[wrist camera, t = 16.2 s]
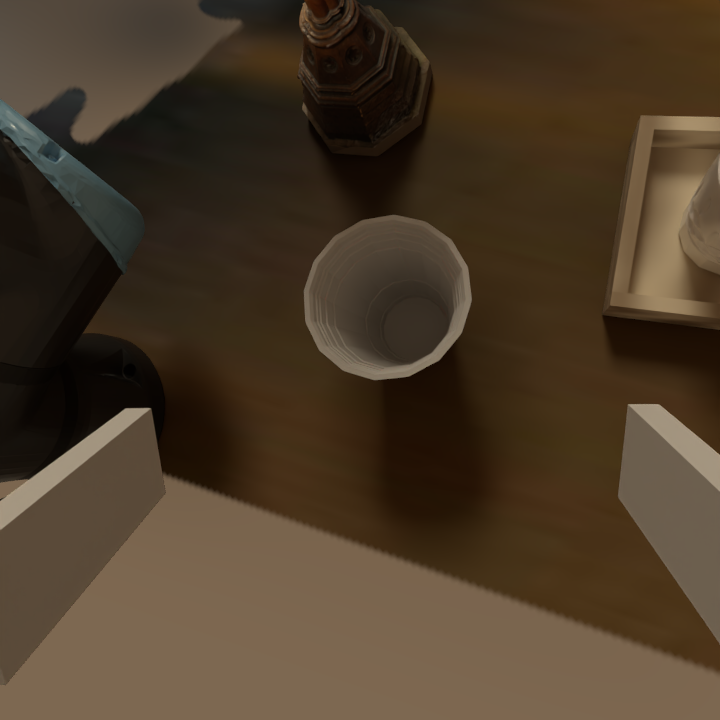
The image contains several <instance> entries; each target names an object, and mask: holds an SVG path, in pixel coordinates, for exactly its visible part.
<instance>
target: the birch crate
mask: <svg viewBox="0 0 720 720" xmlns="http://www.w3.org/2000/svg"><path fill="white" fill-rule="evenodd" d="M719 152H720V117H682V116H640V119H639V121H638V124H637V126H636V129H635V131H634V134H633V136H632V139H631V143H630V149H629V155H628V161H627V167H626V173H625V179H624V185H623V191H622V197H621V203H620V210H619V216H618V222H617V228H616V234H615V240H614V246H613V252H612V258H611V264H610V270H609V277H608V283H607V289H606V295H605V301H604V307H603V313H602V315H606V316H614V317H622V318H630V319H638V320H646V321H654V322H662V323H669V324H677V325H685V326H693V327H701V328H709V329H717V330H720V275H718V274H716V273H713V272H710V271H708V270H705V269H703V268H700V267H698V266H697V265H696V264H695V263H694V262H693V261H692V259H691V258H690V257H689V256H688V255H687V254H686V253H685V252H684V250H683V247H682V243H681V239H680V236H679V228H680V224H681V220H682V216H683V213H684V211H685V209H686V208H687V206H688V205H689V203H690V201H691V199H692V197H693V195H694V193H695V191H696V189H697V188H698V186H699V184H700V182H701V180H702V179H703V177H704V175H705V174H706V172H707V171H708V169H709V167H710V166H711V164H712V163H713V161H714V160H715V158H716V157H717V155H718V154H719Z"/></svg>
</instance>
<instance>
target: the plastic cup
mask: <svg viewBox="0 0 720 720" xmlns="http://www.w3.org/2000/svg"><path fill="white" fill-rule="evenodd" d="M471 301H472V298H471V290H470V281H469V272H468V267H467V265H466V263H465V262H464V260H463V258H462V257H461V255H460V253H459V252H458V250H457V248H456V247H455V245H454V243H453V242H452V240H451V239H450V238H448V237H447V236H445V235H444V234H442V233H441V232H440V231H438V230H437V229H435V228H434V227H432V226H431V225H430V224H428V223H427V222H425V221H421V220H416V219H411V218H407V217H402V216H397V215H390V216H384V217H378V218H372V219H366V220H362V221H360V222H358V223H356V224H355V225H353V226H351V227H350V228H348V229H346V230H344V231H343V232H341V233H339V234H338V235H336V236H334V237H333V239H332V240H331V241H330V242H329V243H328V245H327V246H326V247H325V248H324V250H323V251H322V252H321V253H320V254H319V256H318V257H317V258H316V259H315V261H314V262H313V265H312V268H311V271H310V274H309V277H308V280H307V283H306V286H305V289H304V303H305V321H306V324H307V326H308V328H309V330H310V332H311V334H312V337H313V339H314V341H315V343H316V345H317V347H318V349H319V350H320V351H321V352H322V353H323V354H324V355H325V356H327V357H328V358H329V359H330V360H331V361H332V362H334V363H335V364H336V365H337V366H338V367H339V368H341V369H342V370H343V371H346V372H349V373H352V374H356V375H359V376H362V377H366V378H369V379H372V380H382V379H392V378H401V377H409V376H411V375H413V374H415V373H416V372H418V371H420V370H422V369H424V368H426V367H428V366H430V365H431V364H433V363H435V362H437V361H439V360H440V359H441V358H442V356H443V355H444V354H445V353H446V352H447V350H448V349H449V348H450V347H451V346H452V344H453V343H454V342H455V341H456V340H457V338H458V337H459V336H460V335H461V334H462V331H463V328H464V324H465V321H466V318H467V314H468V311H469V308H470V305H471Z"/></svg>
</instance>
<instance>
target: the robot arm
mask: <svg viewBox="0 0 720 720" xmlns="http://www.w3.org/2000/svg"><path fill="white" fill-rule="evenodd" d="M144 231H145V227H144V220H143V217H142V215H141V213H140V212H139V210H138V209H137V208H136V207H135V206H134V205H133V204H131V203H130V202H129V201H128V200H126V199H125V198H124V197H123V196H122V195H120V194H119V193H118V192H117V191H115V190H114V189H113V188H112V187H110V186H109V185H108V184H107V183H105V182H104V181H103V180H102V179H100V178H99V177H98V176H97V175H95V174H94V173H93V172H91V171H90V170H89V169H88V168H87V167H85V166H84V165H83V164H81V163H80V162H79V161H78V160H76V159H75V158H74V157H73V156H71V155H70V154H69V153H67V152H66V151H65V150H64V149H62V148H61V147H60V146H59V145H58V144H56V143H55V142H54V141H53V140H51V139H50V138H49V137H48V136H46V135H45V134H44V133H43V132H41V131H40V130H39V129H38V128H37V127H35V126H34V125H33V124H32V123H30V122H29V121H28V120H27V119H25V118H24V117H23V116H22V115H20V114H19V113H18V112H17V111H15V110H14V109H13V108H11V107H10V106H9V105H8V104H6V103H5V102H4V101H3V100H1V99H0V482H7V481H14V480H23V479H28V481H27V482H26V483H24V484H23V485H21V486H20V487H19V488H17V489H16V490H15V491H13V492H12V493H10V494H9V495H8V496H6V497H4V498H2V499H0V685H6V684H7V683H8V682H9V681H10V679H11V678H12V677H13V676H14V675H15V673H16V672H17V671H18V670H19V668H20V667H21V666H22V665H23V664H24V663H25V661H26V660H27V659H28V658H29V657H30V655H31V654H32V653H33V652H34V650H35V649H36V648H37V647H38V646H39V644H40V643H41V642H42V641H43V640H44V638H45V637H46V636H47V635H48V634H49V632H50V631H51V630H52V629H53V628H54V626H55V625H56V624H57V623H58V621H59V620H60V619H61V618H62V617H63V616H64V614H65V613H66V612H67V611H68V610H69V608H70V607H71V606H72V605H73V604H74V602H75V601H76V600H77V599H78V597H79V596H80V595H81V594H82V593H83V592H84V590H85V589H86V588H87V587H88V586H89V584H90V583H91V582H92V581H93V579H94V578H95V577H96V576H97V575H98V573H99V572H100V571H101V570H102V569H103V568H104V566H105V565H106V564H107V563H108V561H109V560H110V559H111V558H112V557H113V556H114V554H115V553H116V552H117V551H118V550H119V548H120V547H121V546H122V545H123V544H124V542H125V541H126V540H127V539H128V537H129V536H130V535H131V534H132V533H133V531H134V530H135V529H136V528H137V527H138V525H139V524H140V523H141V522H142V521H143V519H144V518H145V517H146V516H147V515H148V513H149V512H150V511H151V510H152V509H153V507H154V506H155V505H156V504H157V503H158V501H159V500H160V499H161V498H162V496H163V495H164V494H165V486H164V481H163V474H162V469H161V463H160V457H159V451H158V445H157V442H158V439H159V436H160V433H161V429H162V425H163V418H164V395H163V389H162V385H161V381H160V378H159V376H158V373H157V371H156V369H155V367H154V365H153V364H152V362H151V360H150V359H149V358H148V357H147V355H146V354H145V353H144V352H143V351H142V350H141V349H140V348H138V347H137V346H136V345H134V344H133V343H131V342H129V341H127V340H124V339H121V338H118V337H113V336H108V335H104V334H96V333H86V334H82V333H83V332H84V330H85V329H86V327H87V326H88V324H89V323H90V321H91V320H92V318H93V317H94V315H95V314H96V312H97V310H98V309H99V307H100V306H101V304H102V303H103V301H104V300H105V298H106V297H107V295H108V294H109V292H110V291H111V289H112V288H113V286H114V285H115V283H116V282H117V280H118V279H119V277H120V276H121V275H124V274H125V273H126V271H127V264H128V262H129V260H130V259H131V257H132V255H133V253H134V252H135V250H136V248H137V247H138V245H139V243H140V241H141V240H142V238H143V235H144ZM618 498H619V499H620V501H621V502H622V503H623V505H624V506H625V508H626V509H627V511H628V512H629V513H630V515H631V516H632V518H633V519H634V521H635V522H636V524H637V525H638V526H639V528H640V529H641V531H642V532H643V534H644V535H645V537H646V538H647V539H648V541H649V542H650V544H651V545H652V547H653V548H654V550H655V551H656V552H657V554H658V555H659V557H660V558H661V560H662V561H663V562H664V564H665V565H666V567H667V568H668V570H669V571H670V573H671V574H672V575H673V577H674V578H675V580H676V581H677V583H678V584H679V586H680V587H681V588H682V590H683V591H684V593H685V594H686V596H687V597H688V599H689V600H690V601H691V603H692V604H693V606H694V607H695V609H696V610H697V611H698V613H699V614H700V616H701V617H702V619H703V620H704V622H705V623H706V624H707V626H708V627H709V629H710V630H711V632H712V633H713V635H714V636H715V637H716V639H717V640H718V642H719V643H720V455H719V454H718V453H717V452H716V451H714V450H713V449H712V448H711V447H710V446H708V445H707V444H706V443H705V442H704V441H702V440H701V439H700V438H699V437H698V436H696V435H695V434H694V433H693V432H692V431H690V430H689V429H688V428H687V427H686V426H684V425H683V424H682V423H681V422H680V421H678V420H677V419H676V418H675V417H673V416H672V415H671V414H670V413H669V412H667V411H666V410H665V409H664V408H663V407H661V406H660V405H659V404H628V410H627V419H626V428H625V437H624V447H623V456H622V465H621V474H620V483H619V493H618Z"/></svg>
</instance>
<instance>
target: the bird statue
mask: <svg viewBox="0 0 720 720" xmlns="http://www.w3.org/2000/svg"><path fill="white" fill-rule="evenodd" d="M304 1H305V2H306V3H303V7H302V11H301V13H300V18H299V26H300V29H301V31H302V33H303V34H304V35H303V37H304V40H303V46H304V47H303V51H302V55H301V59H300V63H299V66H300V67H299V72H298V76H297V77H298V78H299V79H300V80H301V81H302V85H303V87H304V88H303V94H304V95H303V100H302V101H303V107H302V109H303V111H304V112H305V114H306V115H307V117H308V118H309V120H310V121H311V123H312V124H313V126H314V127H315V129H316V130H317V132H318V133H319V135H320V136H321V138H322V139H323V141H324V142H325V144H326V145H327V146H328V148H329V149H330V151H331V152H332V153H338V154H351V155H365V156H379V155H381V154H382V153H383V152H385V151H386V150H387V149H389V148H390V147H391V146H393V145H394V144H395V143H397V142H398V141H399V140H401V139H402V138H403V137H405V136H406V135H408V134H409V133H410V132H412V131H413V130H414V129H416V128H417V127H418V126H420V125H421V124H422V120H423V115H424V110H425V106H426V101H427V96H428V92H429V87H430V82H431V77H432V70H431V65H430V62H429V60H428V59H427V58H426V57H425V55H424V54H423V53H422V52H421V50H420V49H419V48H418V47H417V45H416V44H415V43H414V41H413V40H412V39H411V38H410V36H409V35H408V34H407V32H406V31H405V30H404V29H403V27H393V25H392V24H391V23H390V22H389V21H388V19H387V18H386V17H385V16H384V15H383V13H382V12H381V11H380V10H377V9H373V8H372V7H371V6H369V5H368V6H363V5H361V4H360V3H359V2H357V1H356V0H304Z"/></svg>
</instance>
